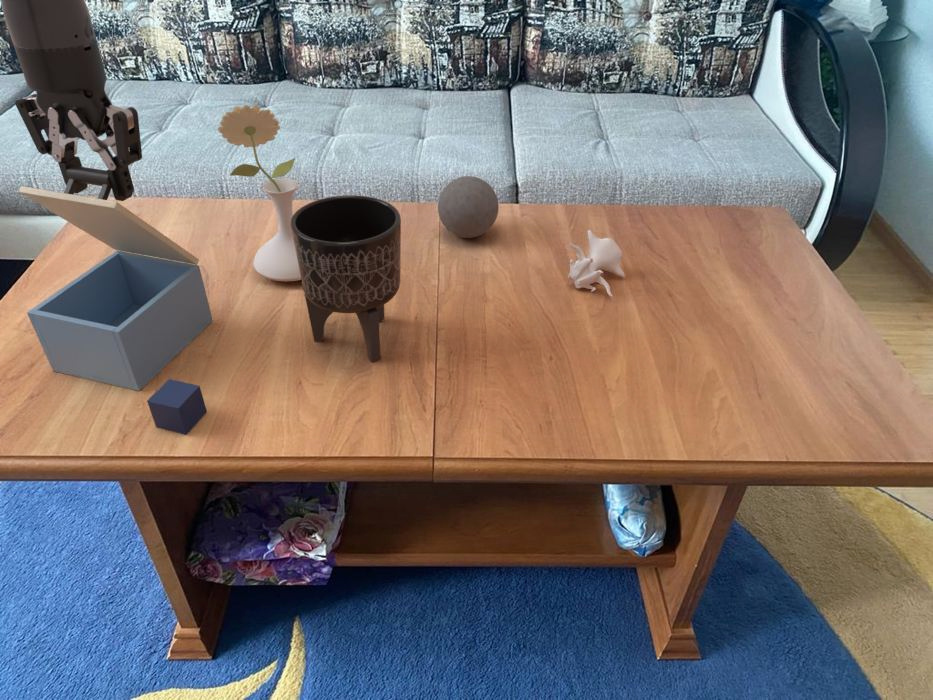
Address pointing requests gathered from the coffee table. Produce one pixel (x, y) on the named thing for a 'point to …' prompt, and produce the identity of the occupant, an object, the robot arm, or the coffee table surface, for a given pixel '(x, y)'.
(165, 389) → the block
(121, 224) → the lid
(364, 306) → the planter
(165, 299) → the light blue open box
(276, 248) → the flower in vase
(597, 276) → the figurine
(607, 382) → the coffee table surface
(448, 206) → the decorative ball
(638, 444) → the coffee table surface
